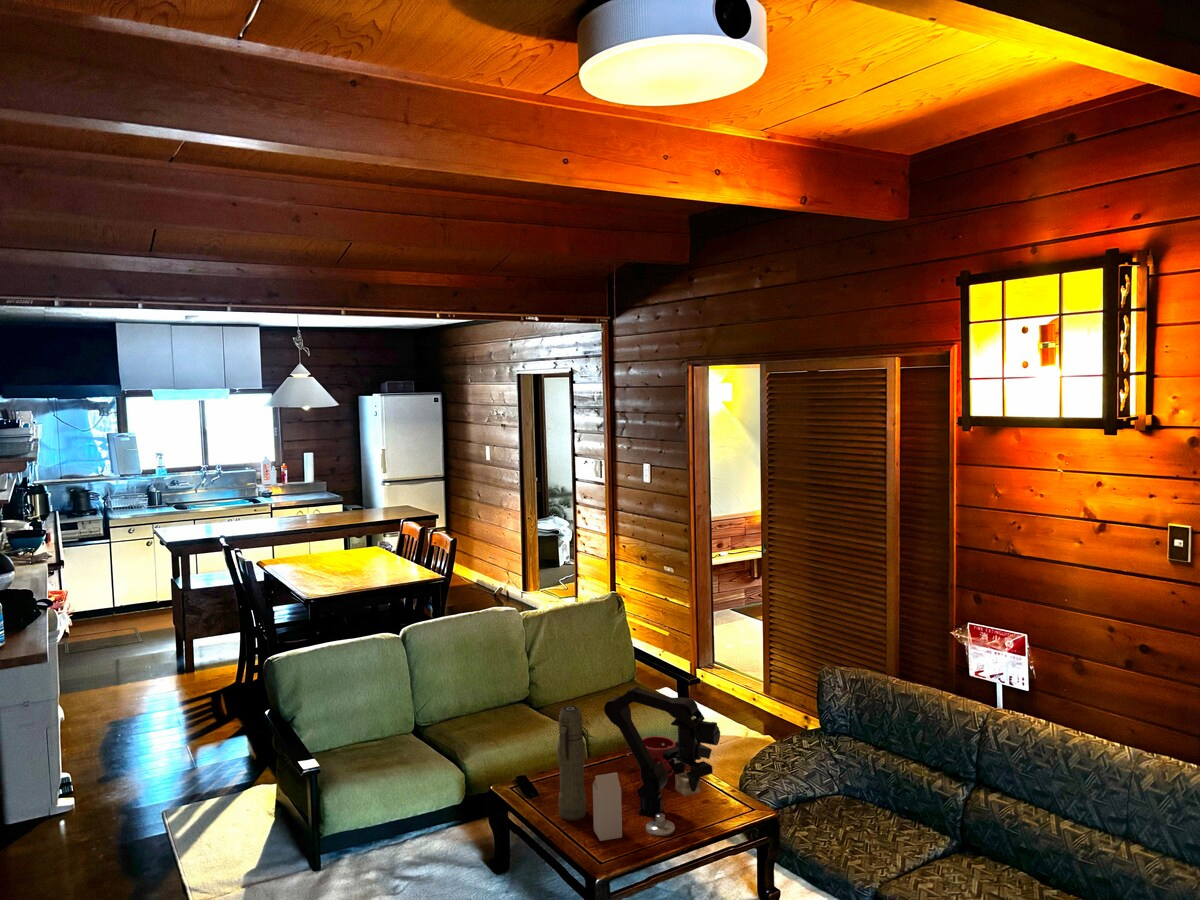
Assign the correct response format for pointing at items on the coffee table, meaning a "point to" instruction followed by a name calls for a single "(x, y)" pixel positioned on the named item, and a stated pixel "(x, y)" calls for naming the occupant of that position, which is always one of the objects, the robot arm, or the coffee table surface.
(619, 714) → the robot arm
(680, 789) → the beige wooden cube
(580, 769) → the thermos
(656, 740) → the plant pot
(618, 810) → the milk carton
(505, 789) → the coffee table surface
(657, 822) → the post stand
